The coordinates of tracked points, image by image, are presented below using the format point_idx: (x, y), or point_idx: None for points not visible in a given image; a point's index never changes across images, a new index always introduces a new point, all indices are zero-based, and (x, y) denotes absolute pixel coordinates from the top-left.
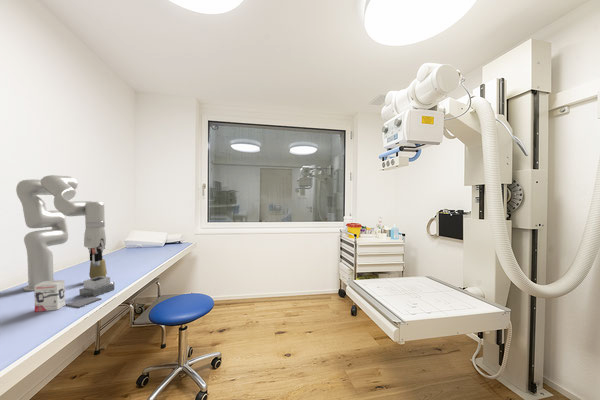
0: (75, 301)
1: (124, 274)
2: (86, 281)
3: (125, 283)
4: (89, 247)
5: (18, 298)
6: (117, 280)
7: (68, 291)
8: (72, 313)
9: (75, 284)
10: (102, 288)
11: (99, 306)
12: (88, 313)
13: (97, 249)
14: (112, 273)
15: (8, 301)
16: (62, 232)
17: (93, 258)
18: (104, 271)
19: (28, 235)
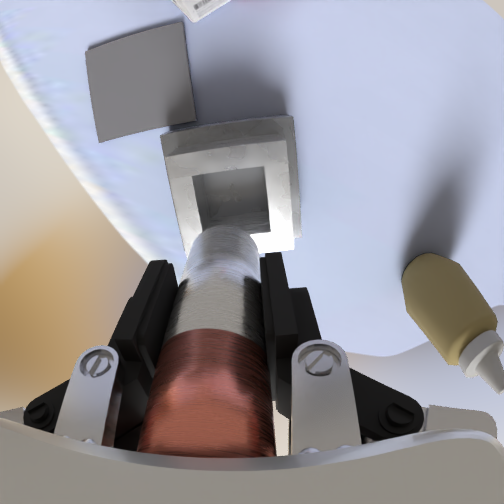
0: (175, 56)
1: (371, 351)
2: (250, 143)
3: None
4: (161, 465)
5: (495, 37)
6: (326, 307)
7: (410, 131)
8: (59, 27)
9: (466, 203)
10: (170, 186)
11: (34, 111)
12: (12, 70)
13: (68, 425)
14: None
15: (490, 12)
16: None
17: (195, 284)
18: (412, 314)
19: None
